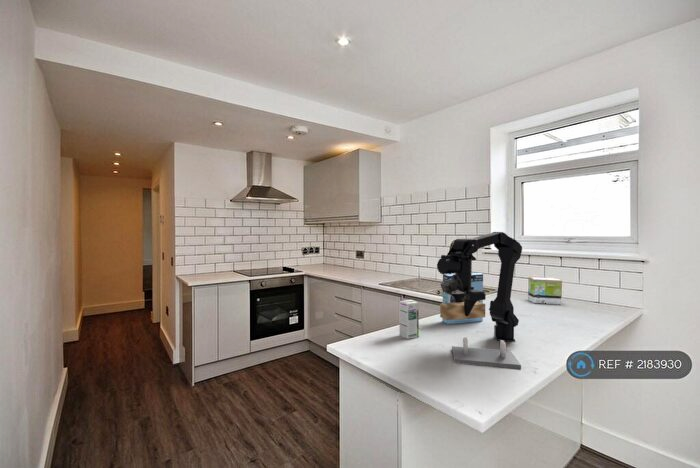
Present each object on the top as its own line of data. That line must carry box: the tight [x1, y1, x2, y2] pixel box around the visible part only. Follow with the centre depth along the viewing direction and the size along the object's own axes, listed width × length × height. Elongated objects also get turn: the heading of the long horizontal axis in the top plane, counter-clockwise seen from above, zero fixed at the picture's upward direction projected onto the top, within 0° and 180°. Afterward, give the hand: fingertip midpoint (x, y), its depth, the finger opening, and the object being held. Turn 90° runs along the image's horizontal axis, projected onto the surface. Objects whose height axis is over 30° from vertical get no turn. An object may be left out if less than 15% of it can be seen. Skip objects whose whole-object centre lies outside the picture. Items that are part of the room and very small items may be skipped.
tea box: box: [527, 276, 563, 305], centre depth 194 cm, size 15×10×15 cm, turn 81°
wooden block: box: [439, 301, 486, 320], centre depth 120 cm, size 16×5×5 cm, turn 104°
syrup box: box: [398, 299, 420, 340], centre depth 132 cm, size 6×6×14 cm
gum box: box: [441, 272, 484, 325], centre depth 153 cm, size 20×5×23 cm, turn 105°
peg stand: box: [451, 337, 522, 370], centre depth 110 cm, size 20×12×6 cm, turn 77°
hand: (462, 314), depth 120 cm, fingers closed on wooden block, 5 cm apart
